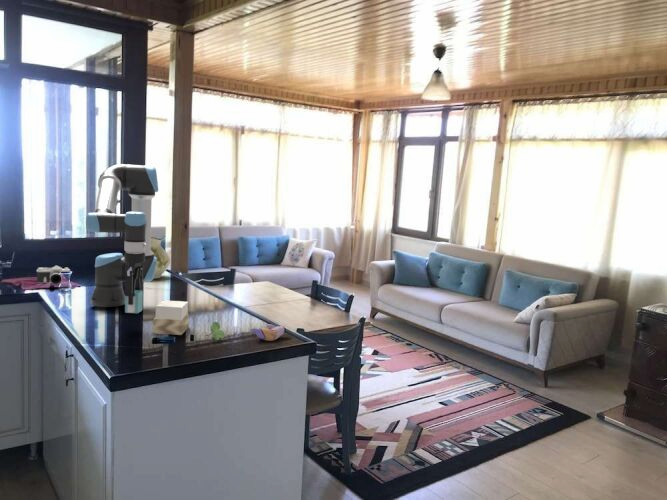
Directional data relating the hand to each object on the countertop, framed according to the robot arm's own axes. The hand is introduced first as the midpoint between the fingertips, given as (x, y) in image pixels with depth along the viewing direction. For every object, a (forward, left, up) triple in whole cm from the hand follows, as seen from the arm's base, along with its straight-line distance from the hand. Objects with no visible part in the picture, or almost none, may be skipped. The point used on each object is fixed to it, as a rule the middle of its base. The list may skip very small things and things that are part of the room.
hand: (133, 310), depth 211 cm
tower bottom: (+14, +2, -8) cm, 16 cm away
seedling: (+29, -4, -8) cm, 31 cm away
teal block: (0, 0, 0) cm, 0 cm away
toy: (+48, -7, -4) cm, 48 cm away
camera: (-69, +74, -8) cm, 101 cm away
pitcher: (-30, +108, -8) cm, 112 cm away
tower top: (+15, +2, -2) cm, 15 cm away
